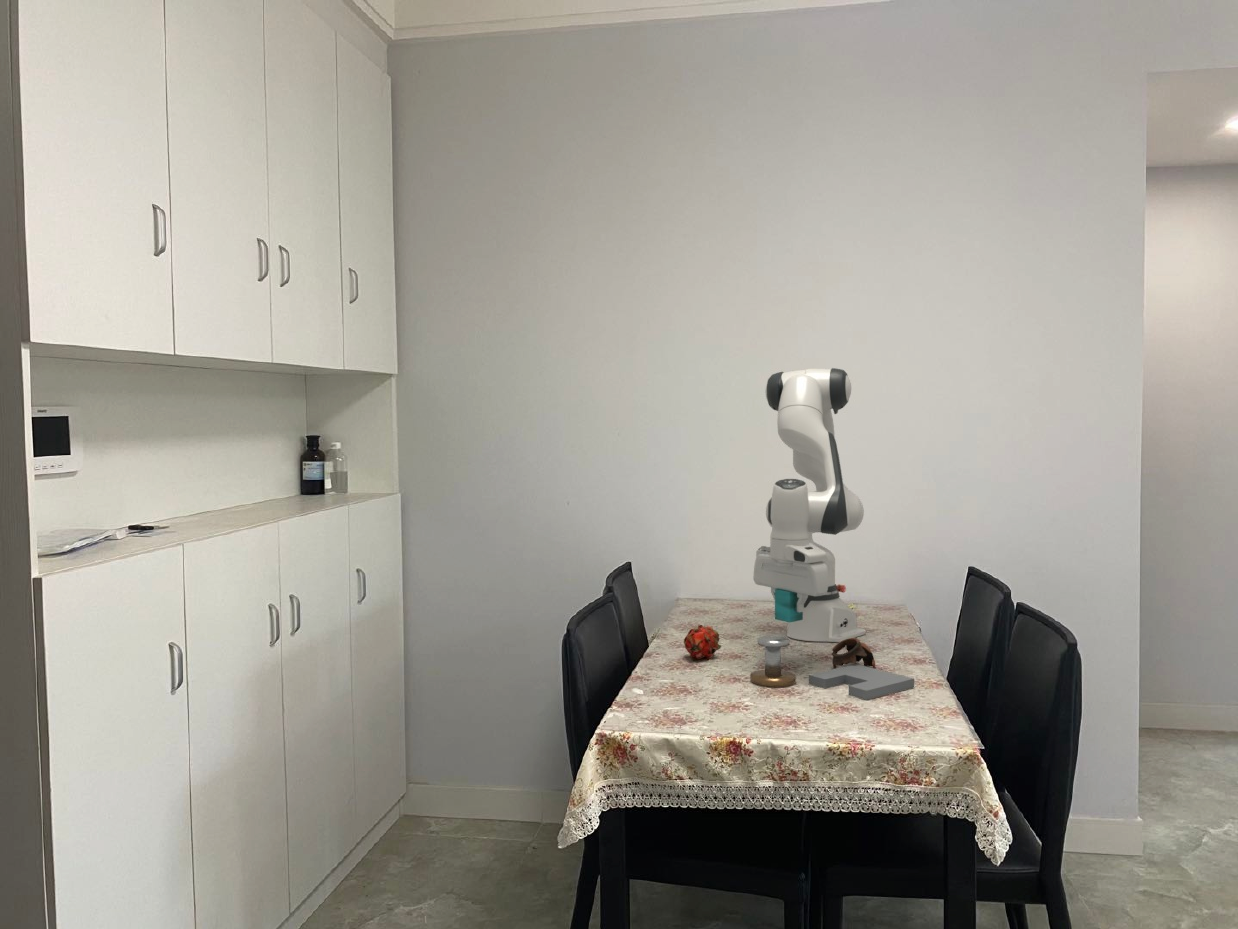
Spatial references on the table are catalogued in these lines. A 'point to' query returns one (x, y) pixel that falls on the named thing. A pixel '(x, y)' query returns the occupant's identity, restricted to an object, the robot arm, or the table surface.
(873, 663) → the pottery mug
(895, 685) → the notched board
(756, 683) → the bobbin post
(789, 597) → the block
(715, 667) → the table surface
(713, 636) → the dragon fruit
